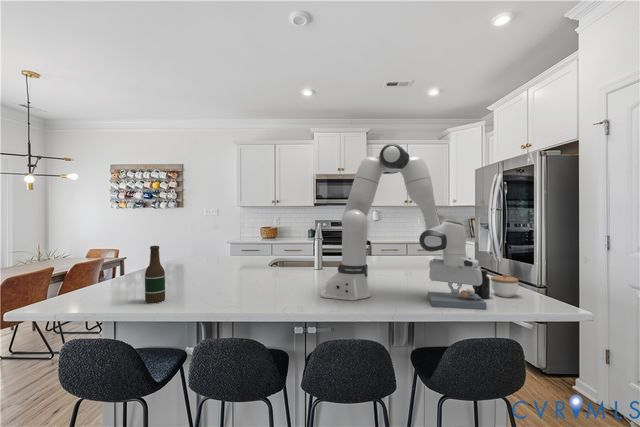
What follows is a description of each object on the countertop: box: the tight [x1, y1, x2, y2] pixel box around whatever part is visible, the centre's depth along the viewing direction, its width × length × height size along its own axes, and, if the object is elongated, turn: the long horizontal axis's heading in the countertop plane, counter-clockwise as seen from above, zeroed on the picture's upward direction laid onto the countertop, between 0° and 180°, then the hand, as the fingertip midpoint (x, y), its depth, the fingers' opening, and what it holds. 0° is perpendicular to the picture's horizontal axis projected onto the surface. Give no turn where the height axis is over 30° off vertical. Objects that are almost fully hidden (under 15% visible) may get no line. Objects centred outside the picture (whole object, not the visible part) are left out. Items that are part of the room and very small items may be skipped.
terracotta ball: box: [459, 290, 469, 298], centre depth 131 cm, size 3×3×3 cm
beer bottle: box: [144, 245, 166, 304], centre depth 139 cm, size 8×8×24 cm
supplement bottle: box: [472, 268, 491, 300], centre depth 142 cm, size 7×7×12 cm
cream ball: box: [465, 287, 475, 295], centre depth 136 cm, size 3×3×3 cm
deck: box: [427, 291, 487, 310], centre depth 133 cm, size 20×14×2 cm
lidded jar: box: [490, 273, 520, 298], centre depth 145 cm, size 11×11×9 cm
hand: (455, 293), depth 133 cm, fingers closed
